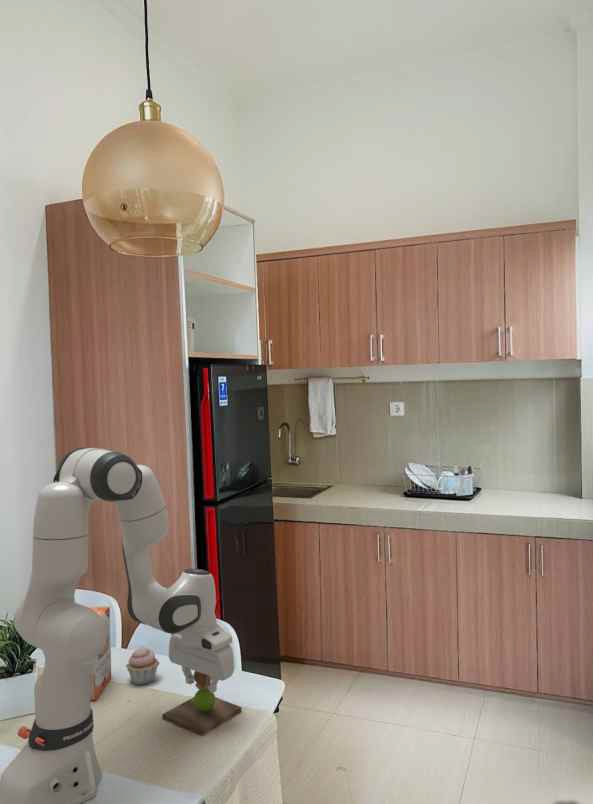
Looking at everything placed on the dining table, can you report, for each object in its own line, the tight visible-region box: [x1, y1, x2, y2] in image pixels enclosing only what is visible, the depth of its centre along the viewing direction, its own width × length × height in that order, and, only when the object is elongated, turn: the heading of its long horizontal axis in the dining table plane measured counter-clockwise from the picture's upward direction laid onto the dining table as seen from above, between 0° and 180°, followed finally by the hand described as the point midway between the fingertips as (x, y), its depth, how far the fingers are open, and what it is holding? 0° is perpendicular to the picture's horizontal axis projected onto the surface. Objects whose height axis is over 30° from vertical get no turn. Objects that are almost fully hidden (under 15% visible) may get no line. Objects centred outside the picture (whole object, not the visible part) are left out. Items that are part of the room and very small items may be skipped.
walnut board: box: [162, 696, 242, 737], centre depth 166 cm, size 14×14×1 cm
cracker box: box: [89, 605, 112, 701], centre depth 181 cm, size 14×6×21 cm, turn 179°
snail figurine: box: [193, 671, 216, 712], centre depth 165 cm, size 5×6×12 cm
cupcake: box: [125, 644, 160, 686], centre depth 186 cm, size 9×9×10 cm
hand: (201, 687), depth 166 cm, fingers open, 6 cm apart
